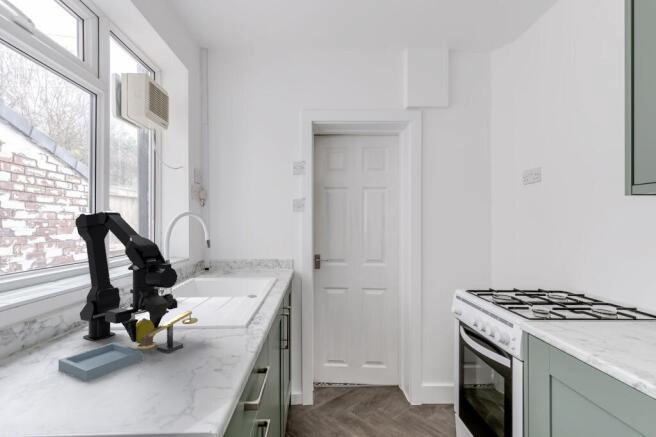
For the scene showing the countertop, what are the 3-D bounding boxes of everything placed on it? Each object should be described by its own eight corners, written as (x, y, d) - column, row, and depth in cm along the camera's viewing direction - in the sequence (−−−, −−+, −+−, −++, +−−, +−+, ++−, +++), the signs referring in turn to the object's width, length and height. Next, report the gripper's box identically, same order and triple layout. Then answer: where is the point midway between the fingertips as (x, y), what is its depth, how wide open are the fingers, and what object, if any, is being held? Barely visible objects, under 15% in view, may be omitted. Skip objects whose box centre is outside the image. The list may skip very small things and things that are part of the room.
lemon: (145, 349, 92) (145, 321, 92) (128, 348, 93) (128, 320, 93) (158, 342, 98) (158, 316, 98) (143, 341, 99) (143, 315, 99)
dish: (58, 369, 80) (58, 359, 80) (114, 351, 91) (114, 342, 91) (86, 381, 74) (86, 370, 74) (142, 360, 85) (142, 350, 85)
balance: (133, 358, 86) (133, 324, 86) (190, 337, 102) (190, 308, 102) (144, 362, 84) (144, 327, 84) (201, 339, 100) (201, 310, 100)
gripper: (127, 294, 84) (127, 355, 83) (189, 282, 100) (189, 333, 100) (104, 290, 89) (103, 347, 89) (166, 279, 105) (166, 327, 105)
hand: (143, 338), depth 95 cm, fingers closed on lemon, 5 cm apart
